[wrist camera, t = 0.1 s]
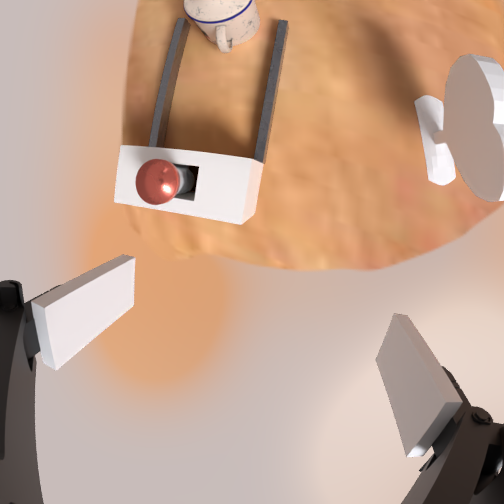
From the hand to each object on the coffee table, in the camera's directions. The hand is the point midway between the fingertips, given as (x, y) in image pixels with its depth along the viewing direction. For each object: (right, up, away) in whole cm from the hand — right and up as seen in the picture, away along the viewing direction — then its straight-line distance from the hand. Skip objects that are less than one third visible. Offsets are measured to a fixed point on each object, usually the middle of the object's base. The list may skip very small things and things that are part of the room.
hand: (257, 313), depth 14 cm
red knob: (-8, +11, +19) cm, 24 cm away
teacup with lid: (-3, +35, +21) cm, 41 cm away
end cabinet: (-7, +13, +27) cm, 31 cm away
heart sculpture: (+26, +19, +20) cm, 38 cm away
